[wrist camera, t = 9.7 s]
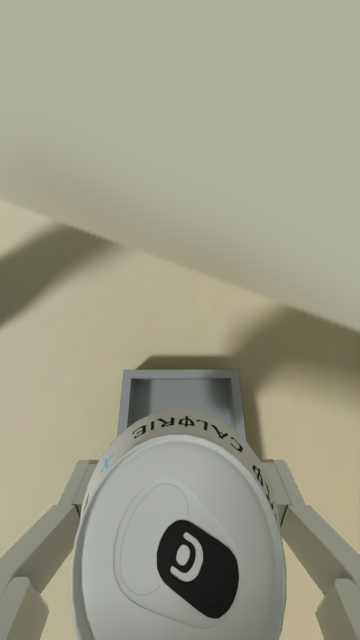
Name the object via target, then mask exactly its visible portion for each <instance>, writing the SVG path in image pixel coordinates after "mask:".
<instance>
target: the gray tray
mask: <svg viewBox="0 0 360 640" xmlns="http://www.w3.org/2000/svg"><path fill="white" fill-rule="evenodd" d="M175 408H187V409H192V410H196V411H199V412H203V413H206V414H208V415H210V416H213V417H215V418H217V419H219V420H221V421H222V422H224V423H225V424H227V425H228V426H229V427H231V428H232V429H234V430H235V431H236V432H237V433H238V434H239V435H240V436H241V437H242V438H243V439H244V440H245V441H246V435H245V425H244V416H243V406H242V397H241V387H240V378H239V369H211V370H124V371H123V381H122V391H121V401H120V412H119V422H118V432H117V437H118V436H119V435H120V434H121V433H122V432H123V431H124V430H125V429H127V428H128V427H129V426H131V425H132V424H134V423H135V422H136V421H138V420H140V419H142V418H144V417H146V416H148V415H151V414H153V413H156V412H160V411H165V410H169V409H175Z"/></svg>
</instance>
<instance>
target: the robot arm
mask: <svg viewBox="0 0 360 640" xmlns="http://www.w3.org/2000/svg"><path fill="white" fill-rule="evenodd" d="M98 462H99V460H79V461H78V463H77V464H76V466H75V468H74V470H73V472H72V475H71V477H70V479H69V481H68V483H67V486H66V488H65V490H64V492H63V494H62V496H61V499H60V501H59V503H58V505H53V506H52V507H51V508H50V509H49V510H48V511H47V512H46V513H45V514H44V515H43V516H42V517H41V518H40V519H39V520H38V521H37V522H36V523H35V524H34V525H33V526H32V527H31V528H30V529H29V530H28V531H27V532H26V533H25V534H24V535H23V536H22V537H21V538H20V539H19V540H18V541H17V542H16V543H15V544H14V545H13V546H12V547H11V548H10V549H9V550H8V551H7V552H6V553H5V554H4V555H3V556H2V557H1V558H0V640H40V637H41V634H42V631H43V628H44V626H45V623H46V620H47V617H48V614H49V609H48V605H47V604H46V602H45V601H44V600H43V598H42V597H41V595H40V594H41V592H42V591H43V590H44V588H45V587H46V585H47V584H48V583H49V581H50V580H51V578H52V577H53V576H54V574H55V573H56V572H57V570H58V569H59V567H60V566H61V565H62V563H63V562H64V560H65V559H66V558H67V556H68V555H69V553H70V552H71V551H72V549H73V548H74V543H75V538H76V534H77V531H78V528H79V524H80V517H81V510H82V504H83V500H84V497H85V494H86V490H87V487H88V484H89V481H90V479H91V477H92V474H93V472H94V470H95V468H96V466H97V464H98ZM260 462H261V464H262V466H263V468H264V470H265V472H266V474H267V476H268V478H269V480H270V483H271V486H272V490H273V493H274V496H275V500H276V503H277V507H278V514H279V521H280V528H281V536H282V537H283V539H284V540H285V541H286V543H287V544H288V546H289V547H290V548H291V550H292V551H293V553H294V554H295V555H296V557H297V558H298V559H299V561H300V562H301V564H302V565H303V566H304V568H305V569H306V571H307V572H308V573H309V575H310V576H311V577H312V579H313V580H314V582H315V583H316V584H317V586H318V587H319V589H320V590H321V591H322V593H323V594H324V598H323V600H322V601H321V603H320V604H319V606H318V607H317V610H316V613H315V614H316V617H317V619H318V622H319V625H320V628H321V631H322V634H323V637H324V640H360V555H359V554H358V553H357V552H356V551H355V550H354V549H353V548H352V547H351V546H350V545H349V544H348V543H347V542H346V541H345V540H344V539H343V538H342V537H341V536H340V535H339V534H338V533H337V532H336V531H335V530H334V529H333V528H332V527H331V526H330V525H329V524H328V523H327V522H326V521H325V520H324V519H323V518H322V517H321V516H320V515H319V514H318V513H317V512H316V511H315V510H314V509H313V508H312V507H311V506H310V505H306V504H305V502H304V500H303V498H302V496H301V493H300V491H299V489H298V487H297V485H296V483H295V480H294V478H293V476H292V474H291V472H290V470H289V467H288V465H287V463H286V462H285V461H284V460H271V459H268V460H260Z"/></svg>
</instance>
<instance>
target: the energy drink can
mask: <svg viewBox="0 0 360 640" xmlns="http://www.w3.org/2000/svg"><path fill="white" fill-rule="evenodd" d="M71 602H72V609H73V616H74V623H75V629H76V632H77V635H78V639H79V640H279V637H280V634H281V631H282V625H283V618H284V612H285V605H286V562H285V556H284V549H283V542H282V538H281V528H280V521H279V514H278V507H277V503H276V500H275V496H274V493H273V490H272V486H271V483H270V480H269V478H268V476H267V474H266V472H265V470H264V468H263V466H262V464H261V462H260V460H259V459H258V457H257V456H256V454H255V453H254V452H253V450H252V449H251V447H250V446H249V444H248V443H247V442H246V441H245V440H244V439H243V438H242V437H241V436H240V435H239V434H238V433H237V432H236V431H235V430H234V429H232V428H231V427H229V426H228V425H227V424H225V423H224V422H222V421H221V420H219V419H217V418H215V417H213V416H210V415H208V414H206V413H203V412H199V411H196V410H192V409H187V408H175V409H169V410H165V411H160V412H156V413H153V414H151V415H148V416H146V417H144V418H142V419H140V420H138V421H136V422H135V423H134V424H132V425H131V426H129V427H128V428H127V429H125V430H124V431H123V432H122V433H121V434H120V435H119V436H118V437H117V438H116V439H115V440H114V441H113V442H112V443H111V444H110V446H109V447H108V449H107V450H106V451H105V453H104V454H103V456H102V457H101V459H100V460H99V462H98V464H97V466H96V468H95V470H94V472H93V474H92V477H91V479H90V481H89V484H88V487H87V490H86V494H85V497H84V500H83V504H82V510H81V517H80V524H79V528H78V531H77V534H76V538H75V543H74V550H73V557H72V564H71Z"/></svg>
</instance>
